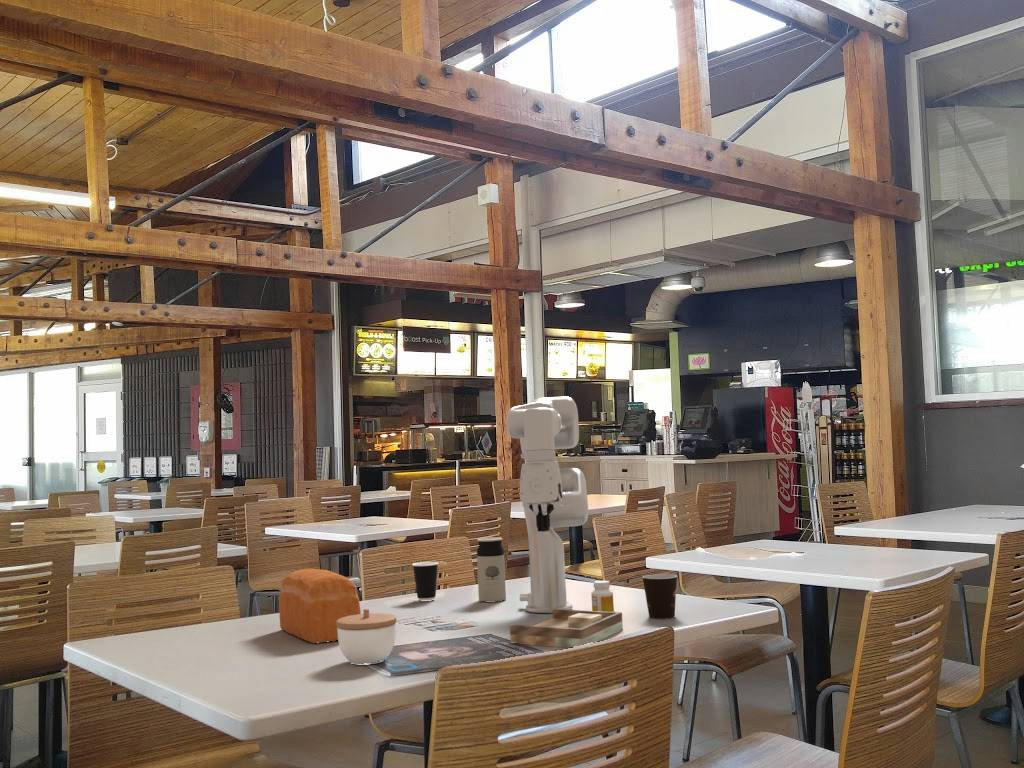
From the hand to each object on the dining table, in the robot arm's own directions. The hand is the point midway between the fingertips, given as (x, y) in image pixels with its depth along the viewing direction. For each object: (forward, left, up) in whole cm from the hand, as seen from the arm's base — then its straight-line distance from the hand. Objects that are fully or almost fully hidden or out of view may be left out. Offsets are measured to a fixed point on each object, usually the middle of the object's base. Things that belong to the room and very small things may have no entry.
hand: (543, 530), depth 231 cm
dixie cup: (-54, +25, -23) cm, 64 cm away
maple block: (+16, -12, -21) cm, 29 cm away
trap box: (+11, -11, -23) cm, 28 cm away
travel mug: (-34, +30, -23) cm, 51 cm away
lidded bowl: (-18, -48, -23) cm, 56 cm away
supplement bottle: (+11, +9, -23) cm, 27 cm away
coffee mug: (+23, +20, -23) cm, 38 cm away
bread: (-51, -26, -23) cm, 62 cm away
